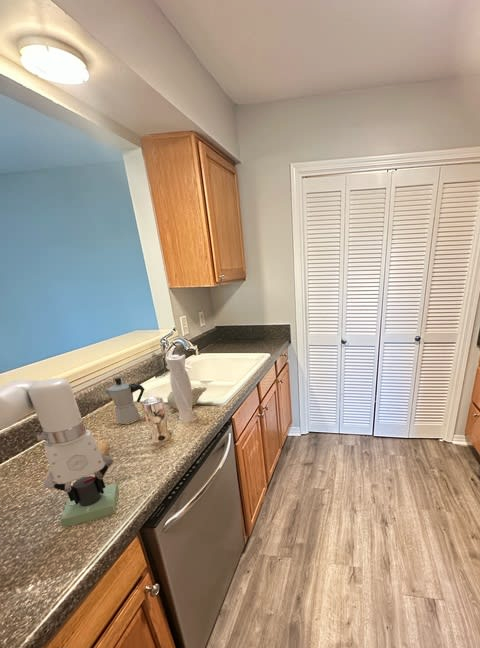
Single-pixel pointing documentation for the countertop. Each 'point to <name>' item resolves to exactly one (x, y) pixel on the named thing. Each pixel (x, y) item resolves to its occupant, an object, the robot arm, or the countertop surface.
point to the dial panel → (91, 508)
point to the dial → (87, 491)
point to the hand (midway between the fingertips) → (89, 495)
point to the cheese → (195, 396)
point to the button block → (103, 447)
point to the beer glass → (156, 419)
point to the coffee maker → (125, 400)
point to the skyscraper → (181, 386)
